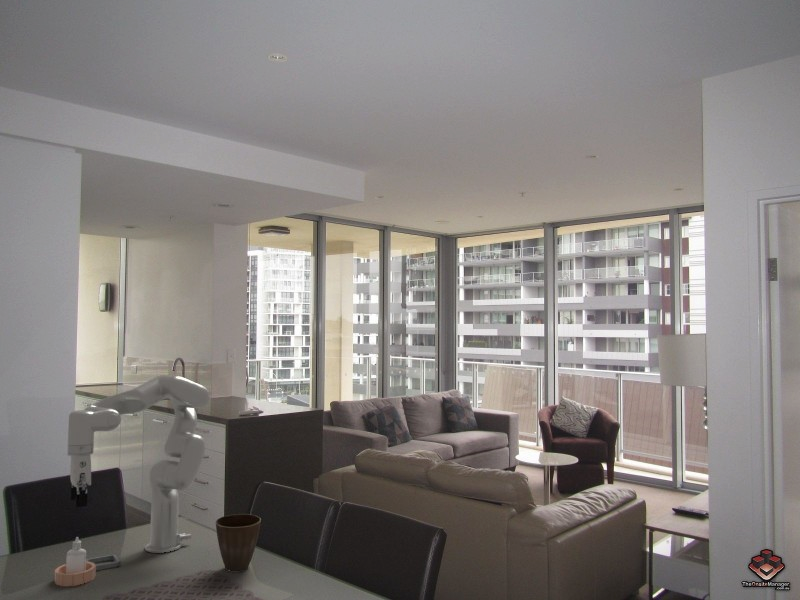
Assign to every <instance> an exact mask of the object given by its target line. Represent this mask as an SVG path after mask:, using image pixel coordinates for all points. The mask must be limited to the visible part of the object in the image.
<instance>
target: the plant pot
mask: <svg viewBox="0 0 800 600" xmlns="http://www.w3.org/2000/svg"><path fill="white" fill-rule="evenodd" d="M261 522H262V518H261V517H260V516H258V515H255V514H252V513H251V514H250V513H238V514H237V513H236V514H234V513H233V514H230V515H224V516H222V517H219V518H217V519H216V521H215V529H216V536H217V538H216V539H217V541H218V548H219V552H220V555H221V560H222V563H223V565H224V568H225V570H226V569H227V570H230V571H240V572H242V571H241V570H244V571H246V570H247V569H249V567H250V564H251V561H252V559H253V555H254V553H255V549H256V545H257V542H258V538H259V534H260V528H261ZM245 569H246V570H245ZM227 570H226V571H227ZM230 571H229V572H230Z"/></svg>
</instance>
